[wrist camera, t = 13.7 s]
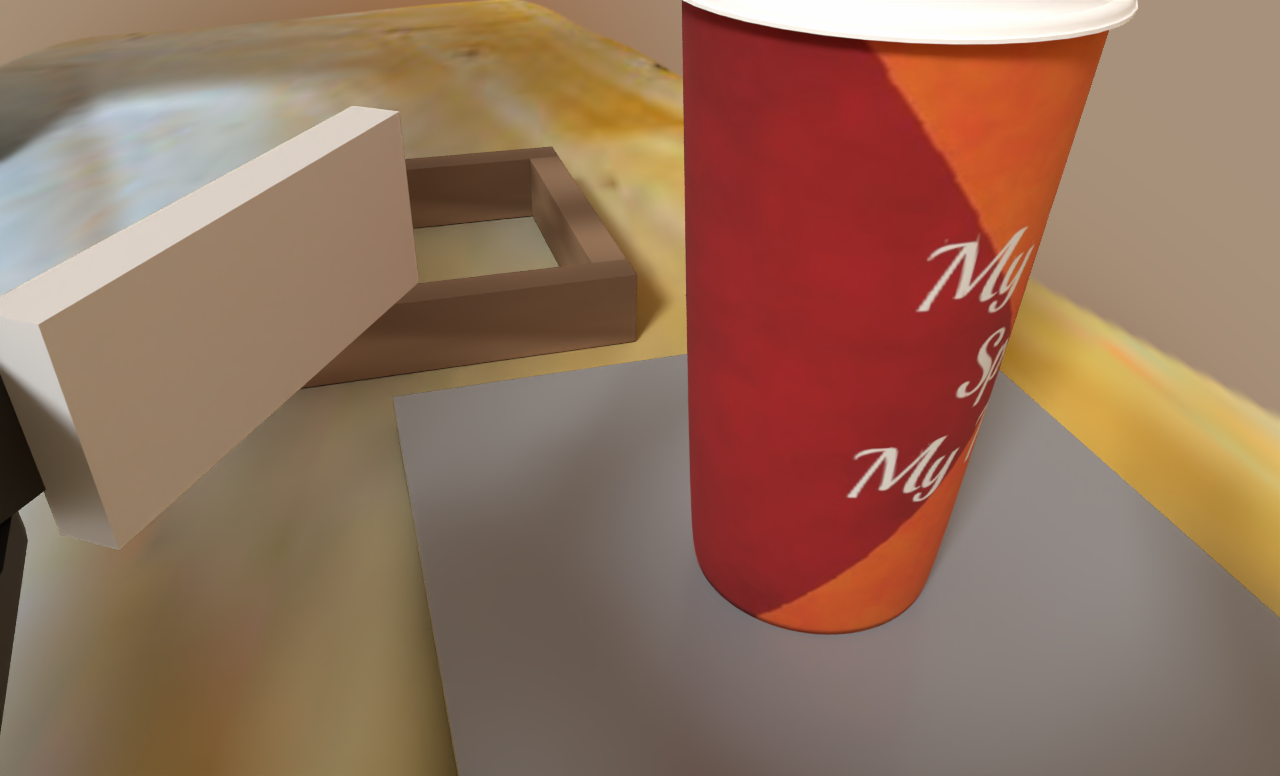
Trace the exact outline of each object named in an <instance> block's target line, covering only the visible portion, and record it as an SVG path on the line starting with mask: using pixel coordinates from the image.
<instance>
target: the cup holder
mask: <svg viewBox="0 0 1280 776" xmlns="http://www.w3.org/2000/svg"><path fill="white" fill-rule="evenodd" d="M405 165H406V174H407V182H408V191H409V200H410V208H411V217H412V225H413V228H418V227H427V226H437V225H447V224H456V223H466V222H475V221H485V220H495V219H504V218H514V217H524V216H533V217H534V219H535V221H536V223H537V225H538V227H539V229H540V231H541V233H542V235H543V236H544V238H545V240H546V242H547V244H548V246H549V248H550V250H551V252H552V253H553V255H554V257H555V259H556V261H557V263H558V265H559V267H554V268H546V269H537V270H529V271H520V272H512V273H503V274H495V275H486V276H478V277H470V278H461V279H453V280H444V281H436V282H427V283H419V284H416V285H415V286H414V287H413V288H412V289H411V290H410V291H408V292H407V293H406V294H405V295H404V296H403V297H402V298H401V299H400V300H398V301H397V302H396V303H395V304H394V305H393V306H392V307H391V308H390V309H388V310H387V311H386V312H385V313H384V314H383V315H382V316H381V317H379V318H378V319H377V320H376V321H375V322H374V323H373V324H372V325H371V326H369V327H368V328H367V329H366V330H365V331H364V332H363V333H362V334H361V335H359V336H358V337H357V338H356V339H355V340H354V341H353V342H352V343H350V344H349V345H348V346H347V347H346V348H345V349H344V350H343V351H342V352H340V353H339V354H338V355H337V356H336V357H335V358H334V359H333V360H331V361H330V362H329V363H328V364H327V365H326V366H325V367H324V368H323V369H321V370H320V371H319V372H318V373H317V374H316V375H315V376H314V377H313V378H311V379H310V380H309V381H308V382H307V383H306V384H305V385H304V386H302V387H301V388H305V387H312V386H319V385H326V384H334V383H341V382H348V381H355V380H362V379H369V378H376V377H384V376H391V375H398V374H405V373H412V372H419V371H426V370H433V369H441V368H448V367H455V366H462V365H469V364H476V363H483V362H490V361H498V360H505V359H512V358H519V357H526V356H533V355H540V354H548V353H555V352H562V351H569V350H576V349H583V348H590V347H597V346H605V345H612V344H619V343H626V342H633V341H636V292H637V274H636V273H635V271H634V270H633V268H632V267H631V265H630V264H629V262H628V261H627V259H626V258H625V256H624V255H623V253H622V252H621V250H620V249H619V247H618V246H617V244H616V243H615V241H614V240H613V238H612V236H611V235H610V233H609V232H608V230H607V229H606V227H605V226H604V224H603V223H602V221H601V220H600V218H599V217H598V215H597V214H596V212H595V211H594V209H593V208H592V206H591V205H590V203H589V202H588V200H587V199H586V197H585V196H584V194H583V193H582V191H581V190H580V188H579V187H578V185H577V184H576V182H575V181H574V179H573V178H572V176H571V175H570V173H569V172H568V170H567V169H566V167H565V165H564V164H563V162H562V161H561V159H560V158H559V156H558V155H557V153H556V152H555V150H554V149H553V147H543V148H531V149H520V150H508V151H496V152H485V153H473V154H462V155H450V156H439V157H427V158H415V159H405Z"/></svg>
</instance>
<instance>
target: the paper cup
mask: <svg viewBox="0 0 1280 776" xmlns="http://www.w3.org/2000/svg"><path fill="white" fill-rule="evenodd" d="M1137 10H1138V3H1137V0H682V34H683V35H682V36H683V37H682V38H683V104H684V171H685V241H686V308H687V364H688V416H689V459H690V492H691V517H692V531H693V543H694V549H695V554H696V558H697V561H698V564H699V566H700V569H701V571H702V573H703V574H704V576H705V577H706V579H707V580H708V582H709V583H710V584H711V586H712V587H713V588H714V589H715V590H716V591H717V592H718V593H719V594H720V595H721V596H722V597H723V598H724V599H726V600H727V601H728V602H729V603H731V604H732V605H733V606H735V607H736V608H738V609H739V610H741V611H743V612H744V613H746V614H748V615H750V616H752V617H754V618H756V619H758V620H760V621H763V622H765V623H768V624H770V625H773V626H777V627H780V628H783V629H787V630H792V631H796V632H802V633H809V634H823V635H836V634H849V633H855V632H860V631H865V630H869V629H872V628H875V627H878V626H881V625H883V624H885V623H887V622H889V621H891V620H893V619H895V618H897V617H898V616H900V615H901V614H902V613H904V612H905V611H906V610H907V609H908V608H909V607H910V606H911V605H912V604H913V603H914V602H915V601H916V599H917V598H918V596H919V595H920V593H921V591H922V589H923V588H924V586H925V584H926V581H927V579H928V576H929V574H930V571H931V569H932V567H933V564H934V562H935V559H936V556H937V553H938V550H939V548H940V545H941V542H942V539H943V536H944V534H945V531H946V528H947V525H948V522H949V519H950V516H951V513H952V510H953V507H954V504H955V501H956V498H957V495H958V492H959V489H960V486H961V483H962V481H963V478H964V475H965V472H966V469H967V466H968V463H969V460H970V457H971V454H972V451H973V448H974V445H975V441H976V438H977V435H978V432H979V429H980V426H981V423H982V420H983V417H984V414H985V411H986V408H987V405H988V402H989V399H990V396H991V393H992V390H993V387H994V383H995V380H996V377H997V374H998V371H999V368H1000V365H1001V362H1002V359H1003V356H1004V353H1005V350H1006V347H1007V344H1008V341H1009V338H1010V335H1011V331H1012V328H1013V325H1014V322H1015V319H1016V316H1017V313H1018V310H1019V307H1020V304H1021V301H1022V297H1023V294H1024V291H1025V288H1026V285H1027V282H1028V279H1029V276H1030V273H1031V270H1032V266H1033V263H1034V260H1035V257H1036V254H1037V251H1038V248H1039V245H1040V242H1041V239H1042V236H1043V232H1044V229H1045V226H1046V223H1047V220H1048V217H1049V214H1050V211H1051V208H1052V204H1053V201H1054V198H1055V195H1056V192H1057V189H1058V186H1059V183H1060V180H1061V177H1062V174H1063V171H1064V167H1065V164H1066V162H1067V158H1068V155H1069V152H1070V149H1071V146H1072V143H1073V140H1074V137H1075V133H1076V131H1077V128H1078V125H1079V122H1080V118H1081V115H1082V112H1083V109H1084V106H1085V103H1086V100H1087V97H1088V94H1089V91H1090V88H1091V85H1092V81H1093V78H1094V75H1095V72H1096V69H1097V66H1098V63H1099V60H1100V57H1101V54H1102V50H1103V48H1104V44H1105V41H1106V38H1107V35H1108V32H1109V30H1110V29H1113V28H1116V27H1119V26H1121V25H1122V24H1124V23H1126V22H1128V21H1130V20H1131V19H1132V18H1133V17H1134V15H1135V14H1136V13H1137Z"/></svg>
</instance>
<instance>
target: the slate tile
mask: <svg viewBox="0 0 1280 776" xmlns="http://www.w3.org/2000/svg"><path fill="white" fill-rule="evenodd" d="M393 402H394V409H395V416H396V423H397V429H398V435H399V441H400V447H401V452H402V458H403V464H404V469H405V475H406V481H407V487H408V492H409V498H410V504H411V510H412V515H413V521H414V527H415V533H416V538H417V544H418V550H419V556H420V561H421V567H422V573H423V579H424V584H425V590H426V596H427V602H428V607H429V613H430V619H431V625H432V630H433V636H434V642H435V648H436V653H437V659H438V665H439V670H440V676H441V682H442V688H443V693H444V699H445V705H446V711H447V716H448V722H449V728H450V734H451V739H452V745H453V751H454V757H455V762H456V768H457V774H458V776H1280V618H1279V617H1278V616H1277V615H1276V614H1275V613H1274V612H1273V611H1271V610H1270V609H1269V608H1268V607H1267V606H1266V605H1265V604H1264V603H1262V602H1261V601H1260V600H1259V599H1258V598H1257V597H1256V596H1255V595H1253V594H1252V593H1251V592H1250V591H1249V590H1248V589H1247V588H1245V587H1244V586H1243V585H1242V584H1241V583H1240V582H1239V581H1238V580H1236V579H1235V578H1234V577H1233V576H1232V575H1231V574H1230V573H1229V572H1227V571H1226V570H1225V569H1224V568H1223V567H1222V566H1221V565H1220V564H1218V563H1217V562H1216V561H1215V560H1214V559H1213V558H1212V557H1210V556H1209V555H1208V554H1207V553H1206V552H1205V551H1204V550H1203V549H1201V548H1200V547H1199V546H1198V545H1197V544H1196V543H1195V542H1194V541H1192V540H1191V539H1190V538H1189V537H1188V536H1187V535H1186V534H1184V533H1183V532H1182V531H1181V530H1180V529H1179V528H1178V527H1177V526H1175V525H1174V524H1173V523H1172V522H1171V521H1170V520H1169V519H1168V518H1166V517H1165V516H1164V515H1163V514H1162V513H1161V512H1160V511H1158V510H1157V509H1156V508H1155V507H1154V506H1153V505H1152V504H1151V503H1149V502H1148V501H1147V500H1146V499H1145V498H1144V497H1143V496H1142V495H1140V494H1139V493H1138V492H1137V491H1136V490H1135V489H1134V488H1133V487H1131V486H1130V485H1129V484H1128V483H1127V482H1126V481H1125V480H1123V479H1122V478H1121V477H1120V476H1119V475H1118V474H1117V473H1116V472H1114V471H1113V470H1112V469H1111V468H1110V467H1109V466H1108V465H1107V464H1105V463H1104V462H1103V461H1102V460H1101V459H1100V458H1099V457H1097V456H1096V455H1095V454H1094V453H1093V452H1092V451H1091V450H1090V449H1088V448H1087V447H1086V446H1085V445H1084V444H1083V443H1082V442H1081V441H1079V440H1078V439H1077V438H1076V437H1075V436H1074V435H1073V434H1072V433H1070V432H1069V431H1068V430H1067V429H1066V428H1065V427H1064V426H1062V425H1061V424H1060V423H1059V422H1058V421H1057V420H1056V419H1055V418H1053V417H1052V416H1051V415H1050V414H1049V413H1048V412H1047V411H1046V410H1044V409H1043V408H1042V407H1041V406H1040V405H1039V404H1038V403H1036V402H1035V401H1034V400H1033V399H1032V398H1031V397H1030V396H1029V395H1027V394H1026V393H1025V392H1024V391H1023V390H1022V389H1021V388H1020V387H1018V386H1017V385H1016V384H1015V383H1014V382H1013V381H1012V380H1010V379H1009V378H1008V377H1007V376H1006V375H1005V374H1004V373H1003V372H1001V371H1000V370H999V371H998V374H997V377H996V380H995V383H994V387H993V390H992V393H991V396H990V399H989V402H988V405H987V408H986V411H985V414H984V417H983V420H982V423H981V426H980V429H979V432H978V435H977V438H976V441H975V445H974V448H973V451H972V454H971V457H970V460H969V463H968V466H967V469H966V472H965V475H964V478H963V481H962V483H961V486H960V489H959V492H958V495H957V498H956V501H955V504H954V507H953V510H952V513H951V516H950V519H949V522H948V525H947V528H946V531H945V534H944V536H943V539H942V542H941V545H940V548H939V550H938V553H937V556H936V559H935V562H934V564H933V567H932V569H931V571H930V574H929V576H928V579H927V581H926V584H925V586H924V588H923V589H922V591H921V593H920V595H919V596H918V598H917V599H916V601H915V602H914V603H913V604H912V605H911V606H910V607H909V608H908V609H907V610H906V611H905V612H904V613H902V614H901V615H900V616H898V617H897V618H895V619H893V620H891V621H889V622H887V623H885V624H883V625H881V626H878V627H875V628H872V629H869V630H865V631H860V632H855V633H849V634H836V635H823V634H809V633H802V632H796V631H792V630H787V629H783V628H780V627H777V626H773V625H770V624H768V623H765V622H763V621H760V620H758V619H756V618H754V617H752V616H750V615H748V614H746V613H744V612H743V611H741V610H739V609H738V608H736V607H735V606H733V605H732V604H731V603H729V602H728V601H727V600H726V599H724V598H723V597H722V596H721V595H720V594H719V593H718V592H717V591H716V590H715V589H714V588H713V587H712V586H711V584H710V583H709V582H708V580H707V579H706V577H705V576H704V574H703V573H702V571H701V569H700V566H699V564H698V561H697V558H696V554H695V549H694V543H693V531H692V517H691V492H690V459H689V416H688V364H687V354H684V355H677V356H670V357H663V358H656V359H650V360H643V361H636V362H629V363H622V364H615V365H608V366H601V367H595V368H588V369H581V370H574V371H567V372H560V373H553V374H547V375H540V376H533V377H526V378H519V379H512V380H505V381H498V382H492V383H485V384H478V385H471V386H464V387H457V388H450V389H444V390H437V391H430V392H423V393H416V394H409V395H402V396H395V397H393Z"/></svg>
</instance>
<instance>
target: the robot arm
mask: <svg viewBox="0 0 1280 776" xmlns="http://www.w3.org/2000/svg"><path fill="white" fill-rule="evenodd" d="M417 283H419V277H418V268H417V260H416V251H415V242H414V234H413V225H412V217H411V208H410V200H409V191H408V182H407V174H406V165H405V157H404V148H403V140H402V131H401V122H400V114H399V111H392V110H384V109H376V108H368V107H360V106H351V107H349V108H347V109H345V110H344V111H342V112H340V113H338V114H336V115H334V116H332V117H331V118H329V119H327V120H325V121H323V122H321V123H319V124H318V125H316V126H314V127H312V128H310V129H308V130H307V131H305V132H303V133H301V134H299V135H297V136H295V137H294V138H292V139H290V140H288V141H286V142H284V143H282V144H281V145H279V146H277V147H275V148H273V149H271V150H270V151H268V152H266V153H264V154H262V155H260V156H258V157H257V158H255V159H253V160H251V161H249V162H247V163H245V164H244V165H242V166H240V167H238V168H236V169H234V170H232V171H231V172H229V173H227V174H225V175H223V176H221V177H220V178H218V179H216V180H214V181H212V182H210V183H208V184H207V185H205V186H203V187H201V188H199V189H197V190H195V191H194V192H192V193H190V194H188V195H186V196H184V197H183V198H181V199H179V200H177V201H175V202H173V203H171V204H170V205H168V206H166V207H164V208H162V209H160V210H158V211H157V212H155V213H153V214H151V215H149V216H147V217H145V218H144V219H142V220H140V221H138V222H136V223H134V224H133V225H131V226H129V227H127V228H125V229H123V230H121V231H120V232H118V233H116V234H114V235H112V236H110V237H108V238H107V239H105V240H103V241H101V242H99V243H97V244H95V245H94V246H92V247H90V248H88V249H86V250H84V251H83V252H81V253H79V254H77V255H75V256H73V257H71V258H70V259H68V260H66V261H64V262H62V263H60V264H58V265H57V266H55V267H53V268H51V269H49V270H47V271H46V272H44V273H42V274H40V275H38V276H36V277H34V278H33V279H31V280H29V281H27V282H25V283H23V284H21V285H20V286H18V287H16V288H14V289H12V290H10V291H8V292H7V293H5V294H3V295H1V296H0V732H1V725H2V718H3V711H4V704H5V697H6V690H7V683H8V676H9V669H10V662H11V655H12V648H13V640H14V633H15V626H16V619H17V612H18V605H19V598H20V591H21V584H22V577H23V570H24V563H25V556H26V549H27V542H28V539H27V535H26V530H25V527H24V524H23V522H22V520H21V517H20V515H19V512H18V511H19V510H20V509H21V508H22V507H24V506H25V505H26V504H28V503H29V502H30V501H32V500H33V499H34V498H36V497H37V496H38V495H39V494H41V493H42V492H43V491H44V493H45V496H46V498H47V501H48V503H49V506H50V509H51V511H52V514H53V516H54V519H55V521H56V524H57V526H58V529H59V531H60V534H61V535H63V536H66V537H70V538H74V539H78V540H81V541H85V542H89V543H93V544H96V545H100V546H104V547H108V548H112V549H115V550H121V549H122V548H123V547H124V546H125V545H126V544H127V543H128V542H130V541H131V540H132V539H133V538H134V537H135V536H136V535H137V534H138V533H140V532H141V531H142V530H143V529H144V528H145V527H146V526H147V525H148V524H150V523H151V522H152V521H153V520H154V519H155V518H156V517H157V516H159V515H160V514H161V513H162V512H163V511H164V510H165V509H166V508H167V507H169V506H170V505H171V504H172V503H173V502H174V501H175V500H176V499H177V498H179V497H180V496H181V495H182V494H183V493H184V492H185V491H186V490H188V489H189V488H190V487H191V486H192V485H193V484H194V483H195V482H196V481H198V480H199V479H200V478H201V477H202V476H203V475H204V474H205V473H207V472H208V471H209V470H210V469H211V468H212V467H213V466H214V465H215V464H217V463H218V462H219V461H220V460H221V459H222V458H223V457H224V456H225V455H227V454H228V453H229V452H230V451H231V450H232V449H233V448H234V447H236V446H237V445H238V444H239V443H240V442H241V441H242V440H243V439H244V438H246V437H247V436H248V435H249V434H250V433H251V432H252V431H253V430H254V429H256V428H257V427H258V426H259V425H260V424H261V423H262V422H263V421H265V420H266V419H267V418H268V417H269V416H270V415H271V414H272V413H273V412H275V411H276V410H277V409H278V408H279V407H280V406H281V405H282V404H284V403H285V402H286V401H287V400H288V399H289V398H290V397H291V396H292V395H294V394H295V393H296V392H297V391H298V390H299V389H300V388H301V387H302V386H304V385H305V384H306V383H307V382H308V381H309V380H310V379H311V378H313V377H314V376H315V375H316V374H317V373H318V372H319V371H320V370H321V369H323V368H324V367H325V366H326V365H327V364H328V363H329V362H330V361H331V360H333V359H334V358H335V357H336V356H337V355H338V354H339V353H340V352H342V351H343V350H344V349H345V348H346V347H347V346H348V345H349V344H350V343H352V342H353V341H354V340H355V339H356V338H357V337H358V336H359V335H361V334H362V333H363V332H364V331H365V330H366V329H367V328H368V327H369V326H371V325H372V324H373V323H374V322H375V321H376V320H377V319H378V318H379V317H381V316H382V315H383V314H384V313H385V312H386V311H387V310H388V309H390V308H391V307H392V306H393V305H394V304H395V303H396V302H397V301H398V300H400V299H401V298H402V297H403V296H404V295H405V294H406V293H407V292H408V291H410V290H411V289H412V288H413V287H414V286H415V285H416V284H417Z"/></svg>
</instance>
